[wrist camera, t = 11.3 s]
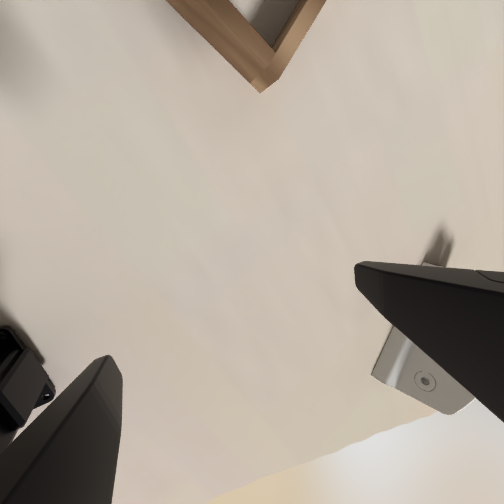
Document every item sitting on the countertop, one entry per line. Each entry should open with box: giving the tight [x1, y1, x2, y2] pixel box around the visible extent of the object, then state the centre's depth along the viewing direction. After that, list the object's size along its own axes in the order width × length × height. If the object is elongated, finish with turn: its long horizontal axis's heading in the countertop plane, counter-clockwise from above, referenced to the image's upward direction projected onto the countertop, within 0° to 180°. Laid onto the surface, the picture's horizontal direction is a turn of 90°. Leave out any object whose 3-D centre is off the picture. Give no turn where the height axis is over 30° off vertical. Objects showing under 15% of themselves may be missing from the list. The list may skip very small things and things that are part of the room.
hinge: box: [372, 262, 476, 415], centre depth 31 cm, size 17×5×10 cm, turn 157°
